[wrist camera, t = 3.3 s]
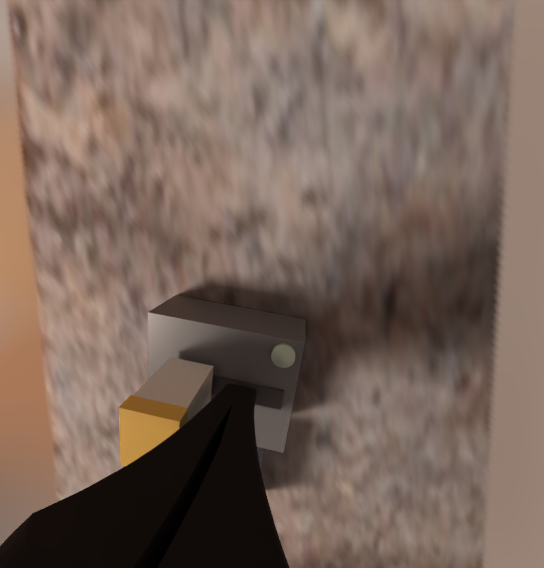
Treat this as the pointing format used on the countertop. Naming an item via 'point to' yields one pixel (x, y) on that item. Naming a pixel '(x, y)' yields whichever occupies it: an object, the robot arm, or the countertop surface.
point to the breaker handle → (163, 406)
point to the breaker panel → (235, 354)
